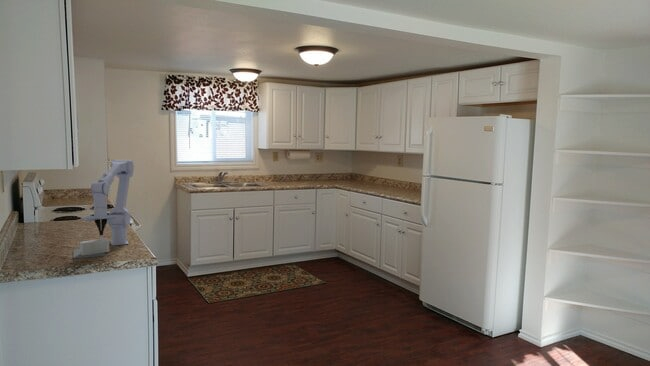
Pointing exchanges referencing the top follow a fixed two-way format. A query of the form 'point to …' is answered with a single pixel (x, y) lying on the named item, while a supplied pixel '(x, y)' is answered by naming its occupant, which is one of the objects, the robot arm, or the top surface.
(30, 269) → the top surface
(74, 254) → the mat
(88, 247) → the skincare box
